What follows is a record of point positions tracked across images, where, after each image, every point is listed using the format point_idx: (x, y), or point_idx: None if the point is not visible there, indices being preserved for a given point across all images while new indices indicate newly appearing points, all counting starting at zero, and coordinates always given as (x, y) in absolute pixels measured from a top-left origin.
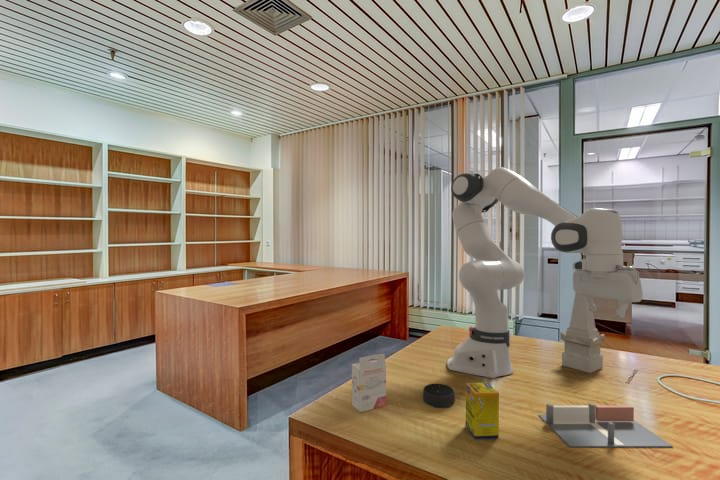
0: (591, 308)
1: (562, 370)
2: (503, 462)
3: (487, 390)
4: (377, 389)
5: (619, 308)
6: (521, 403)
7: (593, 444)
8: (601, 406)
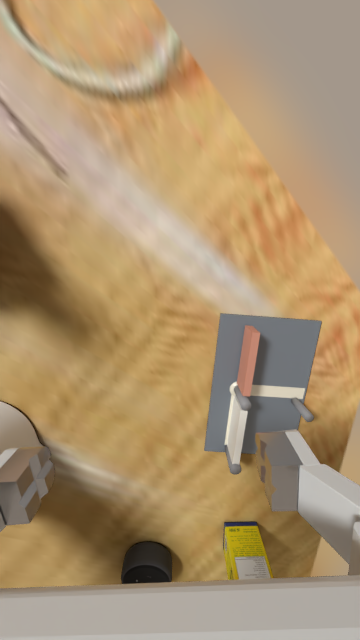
0: (40, 495)
1: None
2: (302, 533)
3: None
4: None
5: (332, 534)
6: (160, 453)
7: (294, 426)
8: (247, 388)
